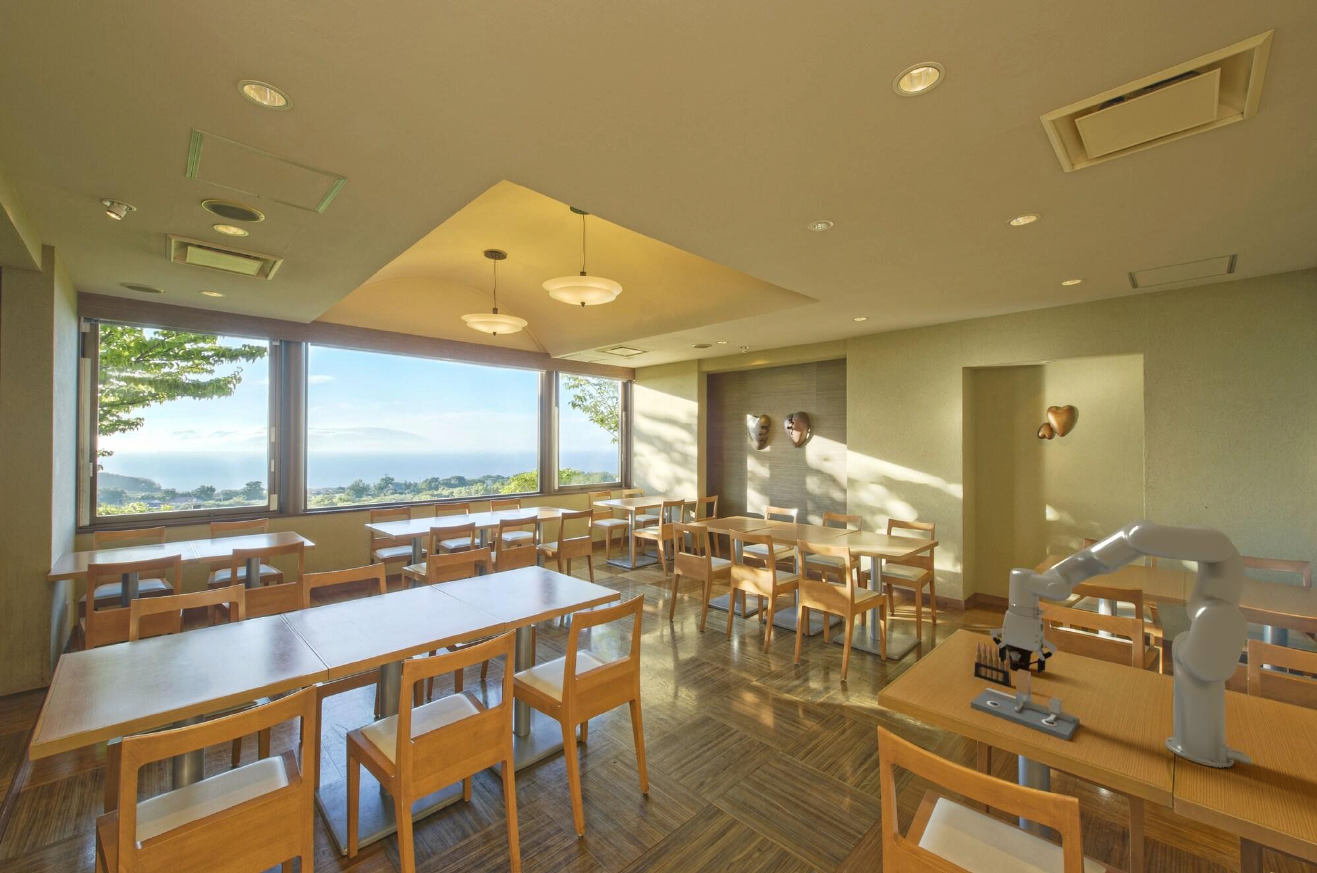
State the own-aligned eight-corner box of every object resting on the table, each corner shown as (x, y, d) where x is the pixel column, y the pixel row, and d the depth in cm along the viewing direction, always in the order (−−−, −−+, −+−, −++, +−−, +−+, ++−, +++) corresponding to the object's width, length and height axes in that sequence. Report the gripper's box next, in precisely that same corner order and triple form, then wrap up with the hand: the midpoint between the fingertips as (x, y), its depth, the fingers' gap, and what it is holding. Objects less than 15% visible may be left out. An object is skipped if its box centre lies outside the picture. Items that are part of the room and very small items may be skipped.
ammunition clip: (1011, 685, 179) (1011, 649, 179) (1009, 687, 177) (1009, 651, 177) (976, 674, 187) (976, 640, 187) (974, 676, 186) (974, 641, 186)
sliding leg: (1030, 704, 162) (1031, 671, 162) (1022, 713, 156) (1022, 680, 156) (1019, 700, 164) (1019, 668, 165) (1010, 710, 159) (1010, 676, 159)
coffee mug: (998, 665, 195) (998, 637, 195) (1015, 662, 198) (1015, 635, 198) (1028, 678, 184) (1028, 649, 184) (1046, 675, 187) (1047, 647, 187)
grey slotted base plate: (1079, 723, 155) (1079, 702, 155) (1067, 740, 145) (1067, 718, 145) (986, 693, 173) (986, 674, 173) (970, 707, 163) (971, 687, 163)
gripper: (1061, 615, 158) (1059, 672, 159) (995, 600, 171) (993, 653, 172) (1054, 620, 154) (1052, 679, 154) (987, 604, 167) (985, 659, 167)
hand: (1021, 666), depth 163 cm, fingers open, 9 cm apart
